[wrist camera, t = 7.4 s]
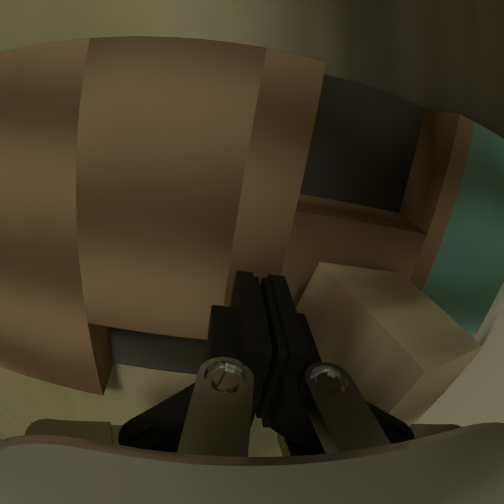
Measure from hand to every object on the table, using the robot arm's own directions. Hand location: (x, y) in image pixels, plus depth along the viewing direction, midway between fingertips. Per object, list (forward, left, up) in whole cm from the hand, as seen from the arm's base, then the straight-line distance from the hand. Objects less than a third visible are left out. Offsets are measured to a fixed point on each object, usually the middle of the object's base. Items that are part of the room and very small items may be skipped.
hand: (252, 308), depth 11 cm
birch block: (+1, +4, -1) cm, 4 cm away
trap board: (0, 0, -4) cm, 4 cm away
